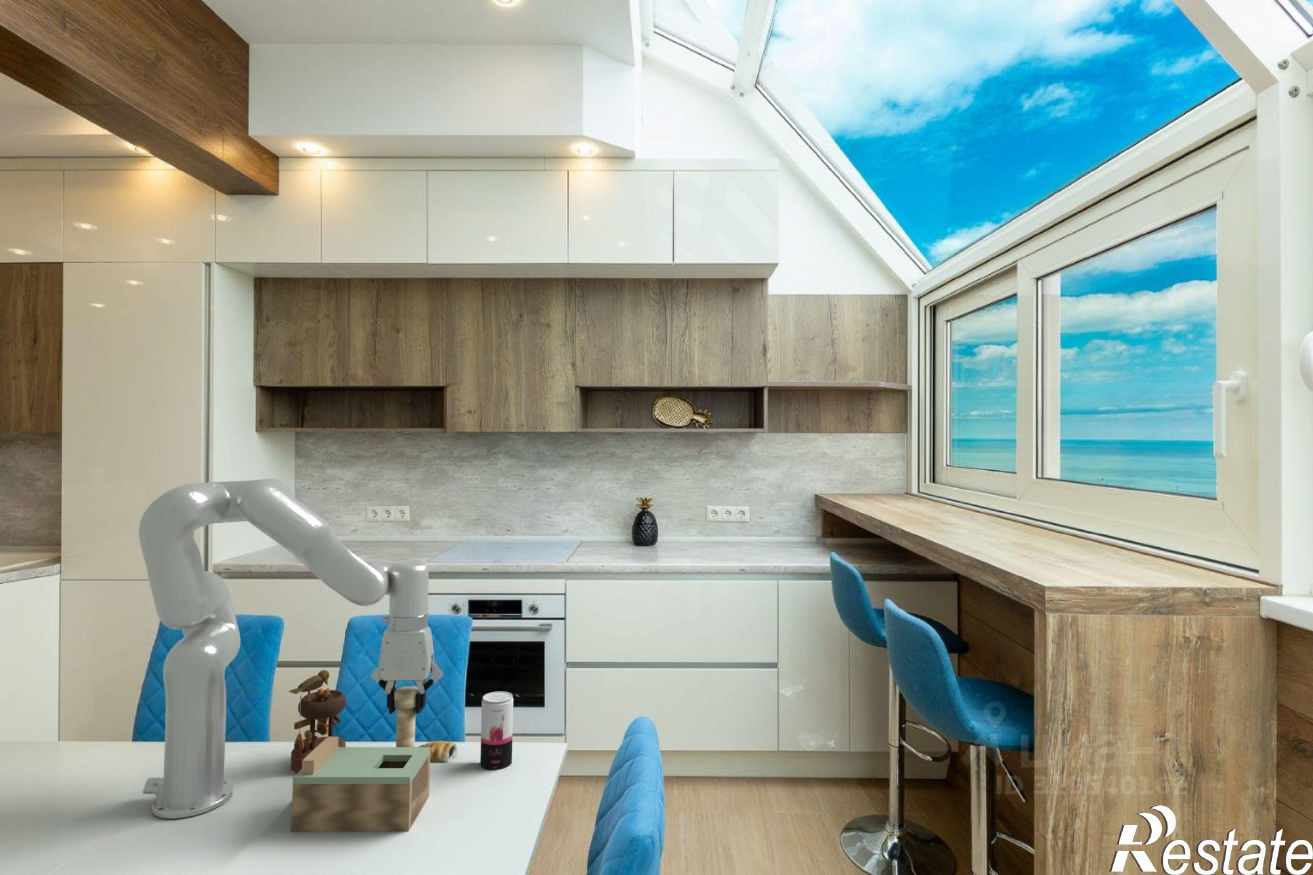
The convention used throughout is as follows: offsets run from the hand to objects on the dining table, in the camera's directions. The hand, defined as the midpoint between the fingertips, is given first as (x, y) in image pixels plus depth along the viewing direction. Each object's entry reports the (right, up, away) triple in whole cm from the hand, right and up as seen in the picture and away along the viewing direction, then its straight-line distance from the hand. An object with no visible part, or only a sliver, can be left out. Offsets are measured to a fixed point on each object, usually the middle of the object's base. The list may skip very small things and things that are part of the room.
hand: (406, 710), depth 139 cm
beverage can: (+18, -14, +4) cm, 23 cm away
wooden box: (-2, -13, -16) cm, 21 cm away
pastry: (+3, -14, +8) cm, 17 cm away
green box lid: (-1, -4, -16) cm, 17 cm away
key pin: (0, -12, 0) cm, 12 cm away
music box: (-21, -13, +6) cm, 25 cm away
